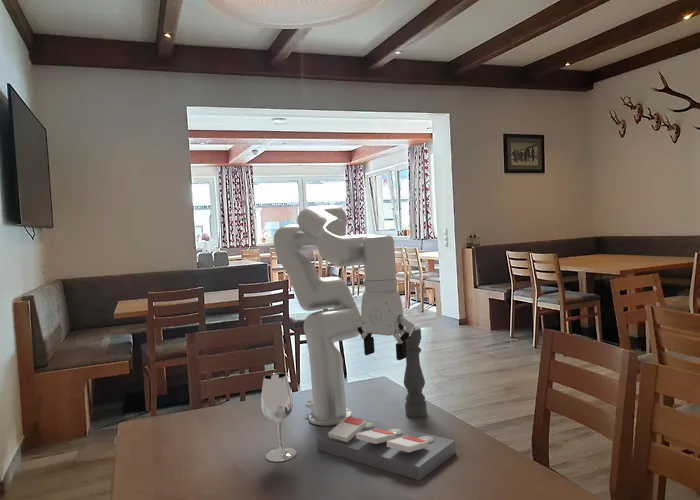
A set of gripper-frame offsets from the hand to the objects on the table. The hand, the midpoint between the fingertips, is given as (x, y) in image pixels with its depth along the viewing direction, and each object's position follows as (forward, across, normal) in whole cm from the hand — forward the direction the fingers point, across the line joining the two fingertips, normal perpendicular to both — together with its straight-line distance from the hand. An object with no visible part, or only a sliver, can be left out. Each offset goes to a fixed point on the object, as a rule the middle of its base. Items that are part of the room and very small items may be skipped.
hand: (385, 356), depth 128 cm
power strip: (+24, -3, -1) cm, 24 cm away
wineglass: (+24, -22, -16) cm, 36 cm away
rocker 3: (+18, +8, -4) cm, 20 cm away
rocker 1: (+19, -10, -4) cm, 22 cm away
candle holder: (+24, -8, +24) cm, 35 cm away
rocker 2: (+19, -1, -4) cm, 19 cm away
